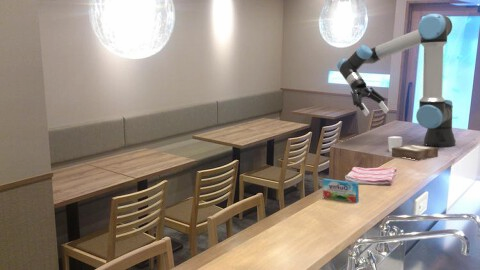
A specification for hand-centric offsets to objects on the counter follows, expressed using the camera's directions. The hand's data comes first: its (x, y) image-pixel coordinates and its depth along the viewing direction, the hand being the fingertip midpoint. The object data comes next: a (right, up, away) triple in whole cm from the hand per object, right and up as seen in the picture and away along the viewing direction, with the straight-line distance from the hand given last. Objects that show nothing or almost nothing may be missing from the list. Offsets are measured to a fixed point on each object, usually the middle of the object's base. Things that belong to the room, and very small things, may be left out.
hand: (377, 113), depth 234 cm
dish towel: (-19, -28, -56) cm, 66 cm away
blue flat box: (-37, -32, -83) cm, 97 cm away
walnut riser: (+10, -21, -22) cm, 32 cm away
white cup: (+7, -19, -7) cm, 21 cm away
